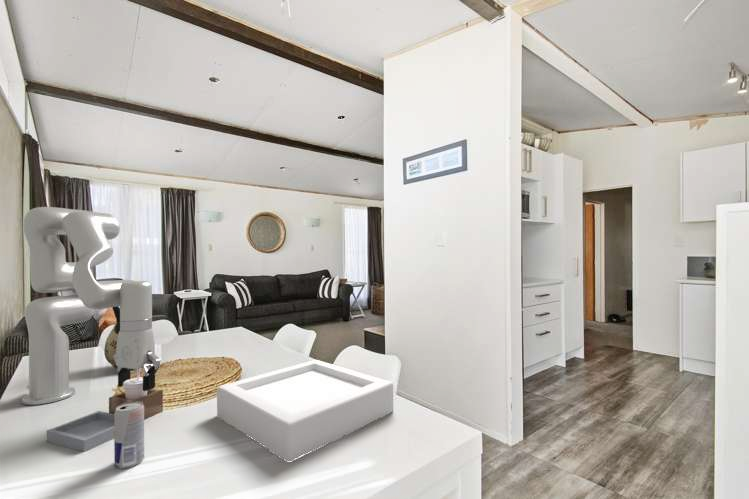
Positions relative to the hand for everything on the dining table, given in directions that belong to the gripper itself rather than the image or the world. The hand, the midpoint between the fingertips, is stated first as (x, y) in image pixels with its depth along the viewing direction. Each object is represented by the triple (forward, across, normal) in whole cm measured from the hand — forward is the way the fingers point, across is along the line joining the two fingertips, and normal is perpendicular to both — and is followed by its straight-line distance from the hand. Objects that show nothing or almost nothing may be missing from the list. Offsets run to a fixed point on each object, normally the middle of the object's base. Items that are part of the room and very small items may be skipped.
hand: (136, 387), depth 103 cm
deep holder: (+8, 0, 0) cm, 8 cm away
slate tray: (+8, 0, -12) cm, 14 cm away
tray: (+9, +44, +17) cm, 48 cm away
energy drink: (+8, +21, -17) cm, 28 cm away
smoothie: (+8, 0, 0) cm, 8 cm away
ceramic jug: (+8, -45, +29) cm, 54 cm away
